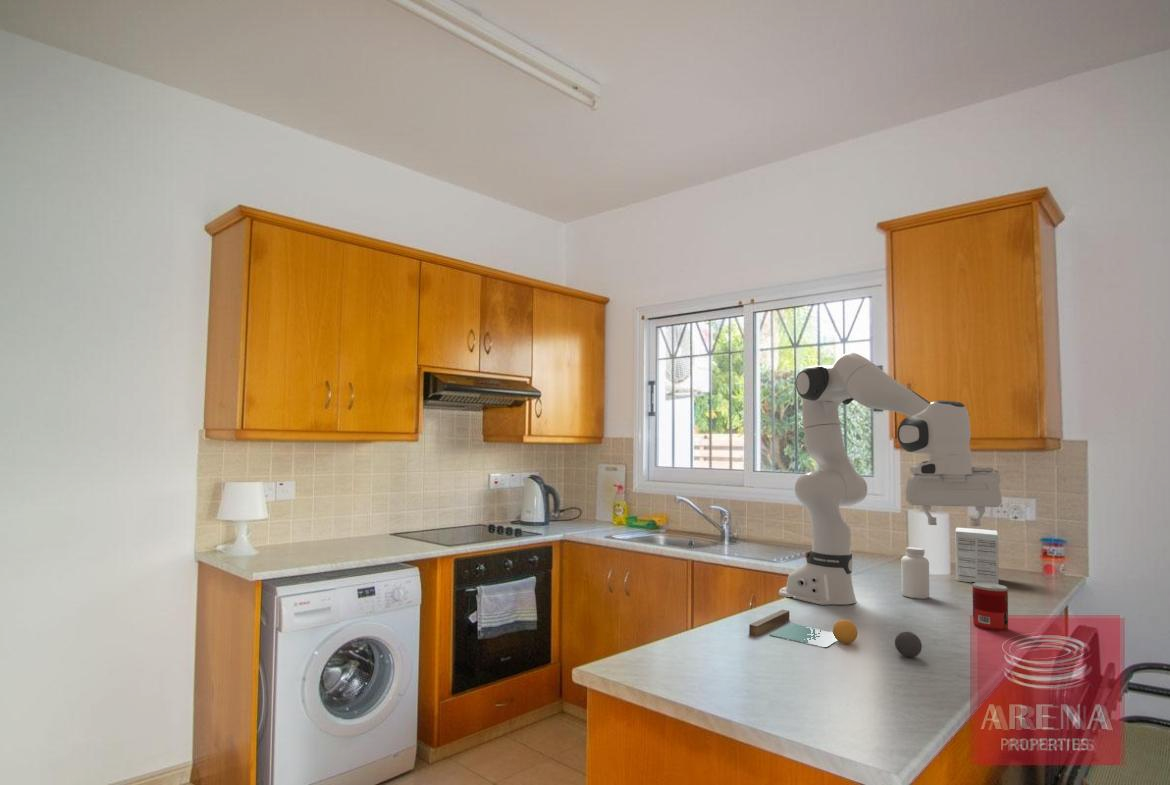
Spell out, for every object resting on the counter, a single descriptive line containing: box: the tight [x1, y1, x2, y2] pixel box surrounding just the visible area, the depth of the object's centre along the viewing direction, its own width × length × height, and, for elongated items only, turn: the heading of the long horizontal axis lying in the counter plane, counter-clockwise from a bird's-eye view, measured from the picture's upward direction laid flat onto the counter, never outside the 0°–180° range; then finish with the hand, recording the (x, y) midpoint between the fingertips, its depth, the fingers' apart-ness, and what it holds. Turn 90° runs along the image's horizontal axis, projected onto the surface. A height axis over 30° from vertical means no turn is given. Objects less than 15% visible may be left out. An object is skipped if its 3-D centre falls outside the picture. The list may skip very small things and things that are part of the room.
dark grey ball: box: [894, 631, 923, 658], centre depth 151 cm, size 6×6×6 cm
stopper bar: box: [748, 609, 790, 638], centre depth 172 cm, size 2×20×2 cm, turn 140°
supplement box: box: [954, 527, 1000, 585], centre depth 239 cm, size 13×13×18 cm
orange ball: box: [832, 619, 858, 645], centre depth 160 cm, size 6×6×6 cm
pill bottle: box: [900, 546, 930, 600], centre depth 211 cm, size 8×8×15 cm
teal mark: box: [769, 623, 821, 644], centre depth 166 cm, size 14×14×1 cm
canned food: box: [972, 582, 1009, 632], centre depth 177 cm, size 8×8×11 cm
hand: (953, 525), depth 159 cm, fingers open, 8 cm apart
